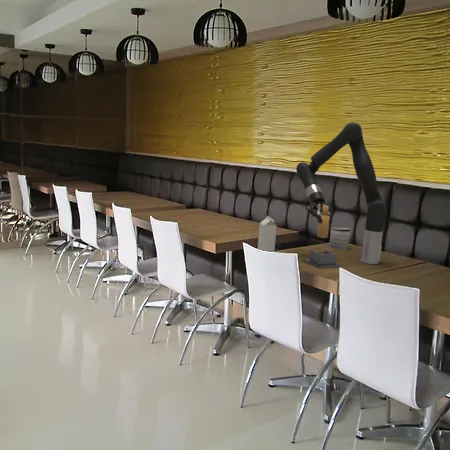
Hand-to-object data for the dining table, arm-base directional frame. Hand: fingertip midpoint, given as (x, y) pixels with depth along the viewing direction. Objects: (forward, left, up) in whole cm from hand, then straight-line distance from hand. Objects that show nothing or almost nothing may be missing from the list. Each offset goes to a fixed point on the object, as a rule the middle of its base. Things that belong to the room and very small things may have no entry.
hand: (326, 222), depth 263 cm
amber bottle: (-1, -2, -8) cm, 8 cm away
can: (-41, -21, -22) cm, 51 cm away
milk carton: (+9, -31, -22) cm, 39 cm away
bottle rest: (0, +1, -21) cm, 21 cm away
